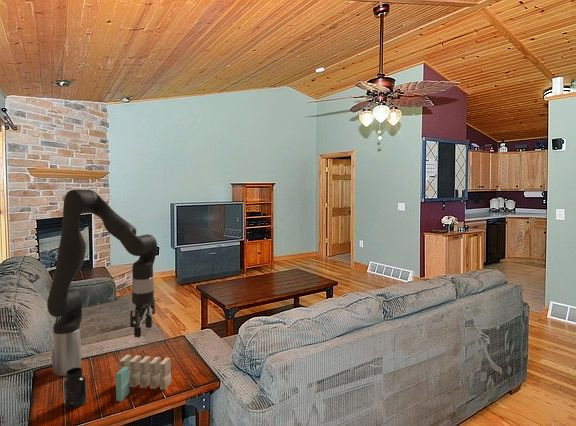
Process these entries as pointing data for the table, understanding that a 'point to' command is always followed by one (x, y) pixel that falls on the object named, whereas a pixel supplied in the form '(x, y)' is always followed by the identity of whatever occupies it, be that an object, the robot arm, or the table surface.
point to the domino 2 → (122, 383)
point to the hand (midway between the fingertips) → (143, 332)
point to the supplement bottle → (75, 388)
